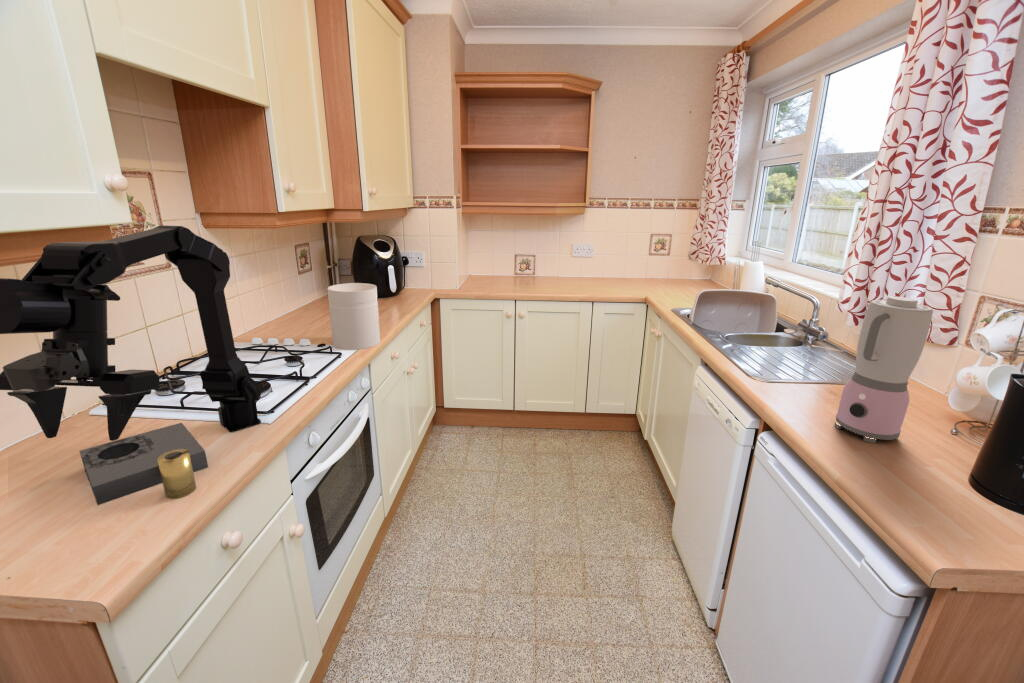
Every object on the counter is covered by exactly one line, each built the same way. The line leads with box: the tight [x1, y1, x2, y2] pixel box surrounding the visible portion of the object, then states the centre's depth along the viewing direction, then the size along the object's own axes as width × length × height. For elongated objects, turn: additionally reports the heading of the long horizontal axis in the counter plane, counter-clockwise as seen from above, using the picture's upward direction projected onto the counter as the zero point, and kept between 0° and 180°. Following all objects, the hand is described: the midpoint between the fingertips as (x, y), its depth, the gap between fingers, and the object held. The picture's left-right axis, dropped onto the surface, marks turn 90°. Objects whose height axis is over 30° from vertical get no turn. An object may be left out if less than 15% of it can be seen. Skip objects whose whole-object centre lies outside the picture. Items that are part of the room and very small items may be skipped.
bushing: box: [157, 449, 197, 500], centre depth 79 cm, size 4×4×7 cm
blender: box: [834, 295, 934, 444], centre depth 103 cm, size 16×12×32 cm
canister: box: [326, 282, 381, 351], centre depth 160 cm, size 16×16×20 cm
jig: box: [79, 422, 209, 506], centre depth 86 cm, size 16×16×4 cm
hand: (82, 438), depth 67 cm, fingers open, 9 cm apart
